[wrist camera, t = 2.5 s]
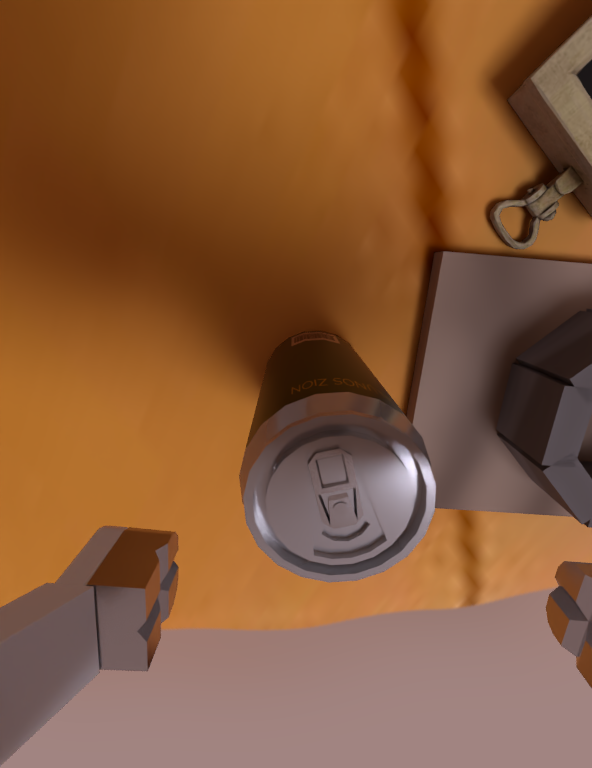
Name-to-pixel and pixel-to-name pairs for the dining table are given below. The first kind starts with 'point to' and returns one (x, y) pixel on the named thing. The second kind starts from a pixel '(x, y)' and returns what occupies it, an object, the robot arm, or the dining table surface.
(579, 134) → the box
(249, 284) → the dining table surface
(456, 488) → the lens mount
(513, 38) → the dining table surface
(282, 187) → the dining table surface
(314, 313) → the dining table surface
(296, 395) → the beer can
